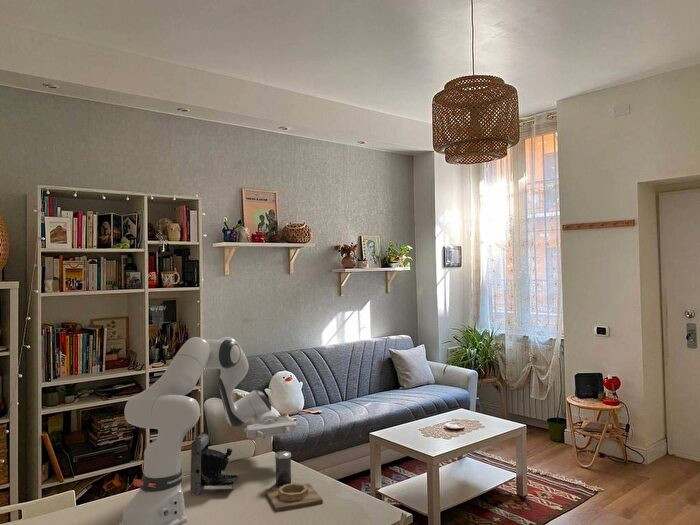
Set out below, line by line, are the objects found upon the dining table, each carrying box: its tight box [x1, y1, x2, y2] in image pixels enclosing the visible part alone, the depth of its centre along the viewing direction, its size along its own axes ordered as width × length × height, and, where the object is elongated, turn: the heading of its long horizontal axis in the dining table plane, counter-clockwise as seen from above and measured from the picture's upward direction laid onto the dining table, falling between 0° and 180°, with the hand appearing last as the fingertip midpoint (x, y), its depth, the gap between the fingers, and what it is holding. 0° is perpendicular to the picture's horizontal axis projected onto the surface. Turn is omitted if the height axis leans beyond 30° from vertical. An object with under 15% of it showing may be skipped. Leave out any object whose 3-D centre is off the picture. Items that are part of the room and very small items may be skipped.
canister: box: [274, 450, 292, 487], centre depth 198 cm, size 6×6×11 cm
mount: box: [265, 482, 324, 512], centre depth 184 cm, size 16×16×3 cm
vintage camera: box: [190, 431, 240, 496], centre depth 193 cm, size 10×16×20 cm, turn 89°
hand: (275, 434), depth 209 cm, fingers open, 8 cm apart
